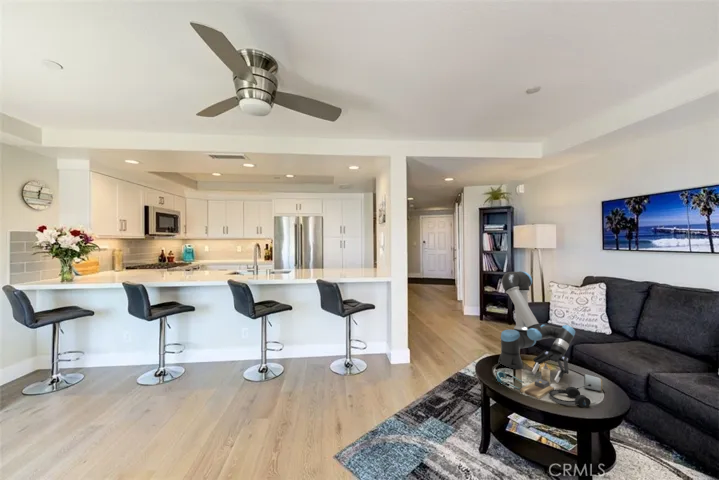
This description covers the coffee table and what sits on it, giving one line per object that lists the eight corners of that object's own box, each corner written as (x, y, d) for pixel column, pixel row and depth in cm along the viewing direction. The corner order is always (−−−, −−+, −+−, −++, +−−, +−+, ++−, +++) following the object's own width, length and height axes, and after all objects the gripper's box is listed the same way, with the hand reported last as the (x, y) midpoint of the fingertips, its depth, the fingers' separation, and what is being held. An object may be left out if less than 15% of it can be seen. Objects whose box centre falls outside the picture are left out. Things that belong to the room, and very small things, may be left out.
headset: (597, 389, 151) (554, 390, 155) (600, 408, 151) (557, 409, 154) (582, 377, 165) (543, 379, 168) (585, 395, 164) (545, 396, 168)
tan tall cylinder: (540, 384, 179) (539, 363, 179) (543, 382, 182) (543, 361, 182) (548, 386, 176) (547, 365, 176) (551, 384, 178) (551, 363, 178)
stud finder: (534, 385, 174) (534, 381, 174) (539, 382, 177) (539, 378, 177) (543, 388, 170) (543, 384, 170) (548, 386, 173) (548, 381, 173)
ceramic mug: (603, 393, 167) (603, 379, 168) (585, 390, 172) (584, 376, 172) (600, 386, 176) (600, 373, 177) (583, 383, 181) (582, 370, 181)
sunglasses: (497, 376, 191) (498, 368, 190) (524, 385, 183) (525, 377, 182) (494, 384, 179) (495, 376, 179) (522, 394, 171) (523, 386, 170)
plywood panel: (520, 391, 169) (520, 389, 169) (535, 383, 180) (535, 381, 180) (539, 399, 161) (539, 396, 161) (553, 390, 171) (553, 387, 171)
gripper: (584, 358, 174) (569, 389, 167) (542, 345, 197) (527, 372, 190) (578, 350, 172) (563, 381, 165) (537, 338, 195) (522, 365, 188)
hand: (544, 376), depth 178 cm, fingers open, 13 cm apart
